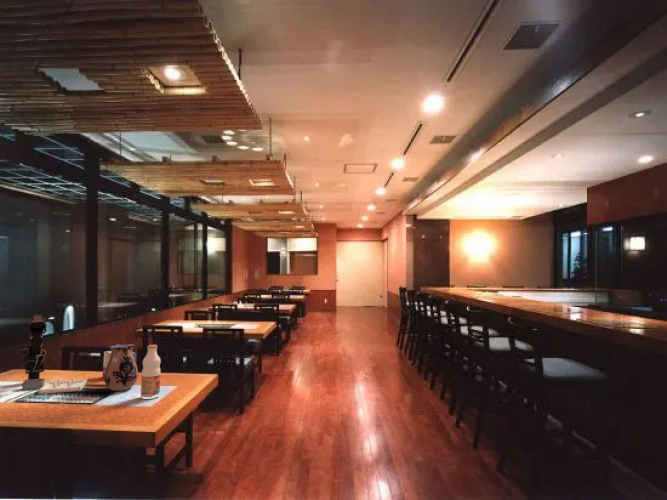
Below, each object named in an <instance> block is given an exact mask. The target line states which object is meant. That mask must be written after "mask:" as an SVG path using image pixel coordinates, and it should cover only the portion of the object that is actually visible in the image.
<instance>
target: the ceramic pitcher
mask: <svg viewBox="0 0 667 500" xmlns="http://www.w3.org/2000/svg"><path fill="white" fill-rule="evenodd" d="M134 346H135V344H131V343H130V344H129V343H125V344H122V343H118V344H114V345H110V346H109V349H110V351H111V356H110V359H109V362H108V364H107V367H106V370H105V374H104V378H103V381H104V382H103V383H105V386H106V387H107V388H108V389H109V390H111V391H114V392H115V391H116V392H119V391H120V392H121V391H126V390H129V389H131V388H132V387H133V386H134V385H135V384H136V382H137V380H138V377H139V371H138V369H139V368H138V365H137V363H136V359H135V357H134V352H133V348H134Z"/></svg>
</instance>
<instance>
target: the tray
mask: <svg viewBox="0 0 667 500" xmlns="http://www.w3.org/2000/svg"><path fill="white" fill-rule="evenodd" d="M61 380H62V379H61V378H57V381H47V383H44V386H43V387H42V388H40V389H37V390H38V393H37V394H38V395H44V394H45V395H46V394H57V393H59V394H60V393H69V392H71V393H72V392H80V391H82V389H83V388H85V386H86V384H87V383H88V379H75V377H71V380H62V381H61Z"/></svg>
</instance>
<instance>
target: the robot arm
mask: <svg viewBox="0 0 667 500" xmlns="http://www.w3.org/2000/svg"><path fill="white" fill-rule="evenodd" d="M46 332H47V324H46V318H45V317H44V316H43V314H33V315H32V317H31V318H29V319H28V335H30V336H29V337H30V338H29V339H30V340H29V345H28V346H27V348H24V349H23V348H20V349H18V350H17V352H16V355H17V356H18V358H21V357H23V358H22V361H23V362H24V363H26V364H25V375H27V379H41V378H40V375H41V373H43V372H45V363H44V359H45V357H46V355H47V350H45V349H43V347H44V343H43V339H44V338H43V335H44V334H46ZM16 355H15V356H16Z"/></svg>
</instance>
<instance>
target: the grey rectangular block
mask: <svg viewBox="0 0 667 500" xmlns="http://www.w3.org/2000/svg"><path fill="white" fill-rule="evenodd" d="M44 385H45V378H40V379H28V378H27V379H25V380H23V381H22V387H21V388H22V391H32V390H31V389H37V390H39V389H40V388H42V387H43V386H44Z"/></svg>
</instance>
